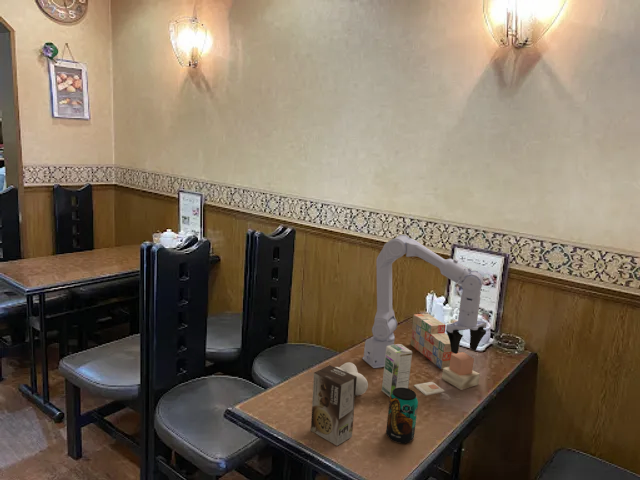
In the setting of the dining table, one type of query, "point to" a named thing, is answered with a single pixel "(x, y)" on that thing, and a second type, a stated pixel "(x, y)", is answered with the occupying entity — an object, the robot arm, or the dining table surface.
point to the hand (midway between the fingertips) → (463, 350)
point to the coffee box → (333, 404)
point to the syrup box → (396, 368)
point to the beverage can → (402, 415)
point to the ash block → (460, 378)
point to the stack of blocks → (431, 339)
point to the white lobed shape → (361, 380)
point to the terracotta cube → (461, 363)
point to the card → (429, 388)
